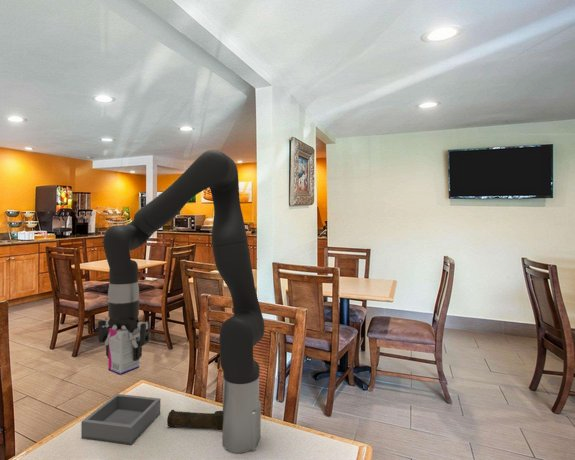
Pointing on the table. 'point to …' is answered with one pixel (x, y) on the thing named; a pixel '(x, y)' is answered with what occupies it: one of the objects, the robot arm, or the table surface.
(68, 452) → the table surface
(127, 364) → the supplement box
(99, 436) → the bin
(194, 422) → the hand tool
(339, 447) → the table surface
